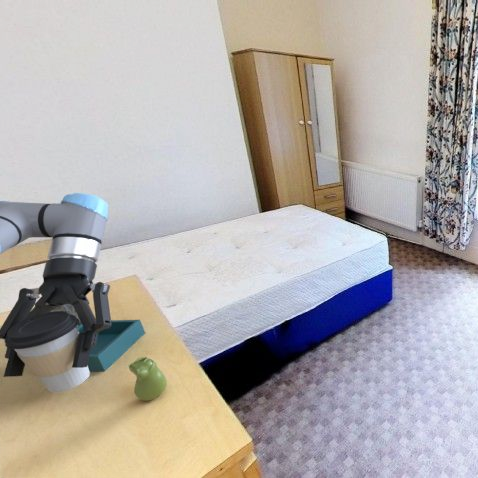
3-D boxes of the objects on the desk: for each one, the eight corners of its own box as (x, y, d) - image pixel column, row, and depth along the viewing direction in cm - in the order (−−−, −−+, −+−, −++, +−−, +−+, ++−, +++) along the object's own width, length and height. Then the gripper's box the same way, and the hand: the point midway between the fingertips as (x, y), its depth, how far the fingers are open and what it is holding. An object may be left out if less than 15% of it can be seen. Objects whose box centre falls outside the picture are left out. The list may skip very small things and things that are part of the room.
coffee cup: (55, 370, 69) (23, 313, 63) (110, 360, 72) (85, 305, 66) (23, 406, 61) (-16, 345, 55) (87, 393, 64) (56, 334, 58)
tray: (41, 373, 74) (32, 358, 72) (91, 334, 87) (84, 320, 85) (104, 371, 76) (97, 356, 74) (145, 333, 88) (140, 319, 86)
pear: (174, 391, 71) (161, 357, 67) (146, 410, 67) (130, 374, 63) (161, 381, 74) (148, 348, 70) (133, 398, 69) (117, 363, 65)
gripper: (143, 262, 76) (128, 362, 68) (23, 271, 70) (-9, 381, 62) (123, 252, 69) (103, 361, 61) (-12, 260, 63) (-53, 382, 55)
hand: (47, 371), depth 62 cm, fingers closed on coffee cup, 9 cm apart
